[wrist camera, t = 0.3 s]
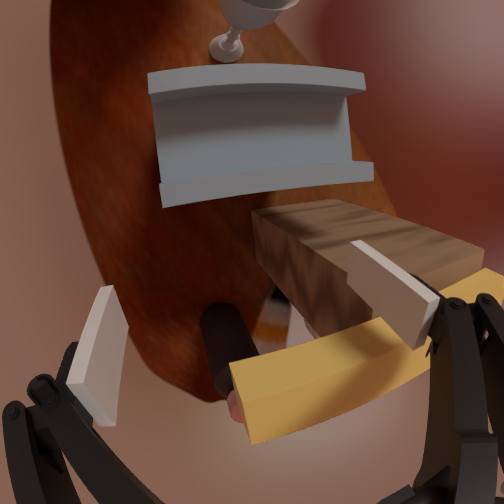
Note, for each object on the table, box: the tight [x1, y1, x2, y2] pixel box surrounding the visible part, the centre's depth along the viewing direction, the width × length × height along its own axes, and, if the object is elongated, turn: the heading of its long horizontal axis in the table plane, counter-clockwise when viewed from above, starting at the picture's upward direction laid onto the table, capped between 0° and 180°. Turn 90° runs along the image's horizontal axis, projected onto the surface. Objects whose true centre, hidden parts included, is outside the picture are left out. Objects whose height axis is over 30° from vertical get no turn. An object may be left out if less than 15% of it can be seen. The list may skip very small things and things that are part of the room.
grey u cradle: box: [148, 64, 374, 208], centre depth 27 cm, size 9×16×22 cm, turn 97°
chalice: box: [209, 0, 299, 63], centre depth 24 cm, size 7×7×18 cm
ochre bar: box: [229, 268, 504, 445], centre depth 16 cm, size 4×24×3 cm, turn 97°
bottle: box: [200, 303, 260, 423], centre depth 36 cm, size 7×7×20 cm
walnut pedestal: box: [251, 199, 484, 338], centre depth 31 cm, size 8×14×28 cm, turn 97°
